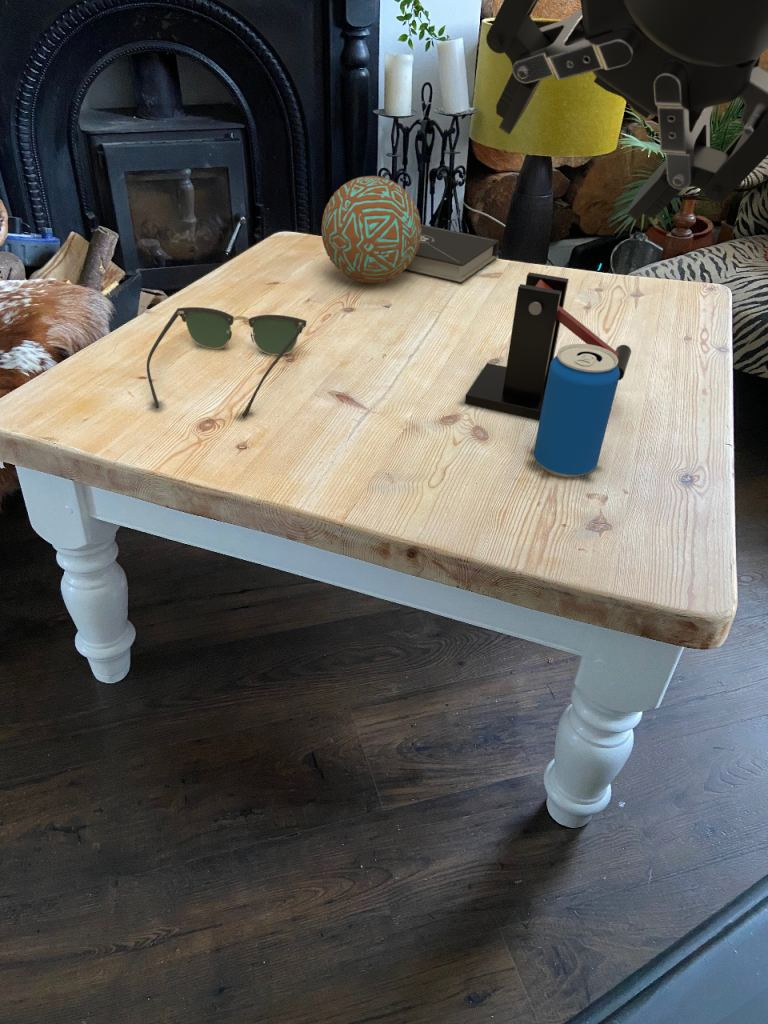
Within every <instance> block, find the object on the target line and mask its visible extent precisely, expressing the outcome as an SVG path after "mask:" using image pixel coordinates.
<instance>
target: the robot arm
mask: <svg viewBox="0 0 768 1024" xmlns="http://www.w3.org/2000/svg"><path fill="white" fill-rule="evenodd" d="M579 1H580V8H578V9H577V10H576V11H574V12H573V13H572V14H571V15H570V16H568V17H567V18H565V19H562V20H559V21H556V22H552V23H550V24H547V25H545V26H542V27H541V26H540V28H539V27H538V25H537V24H536V23H535V21H534V20H533V19H532V18H531V15H532V13H533V11H534V9H535V8H536V6H537V5H538V2H539V0H503V1H502V4H501V6H500V7H499V9H498V11H497V14H496V16H495V17H494V19H493V21H492V23H491V25H490V28H489V30H488V32H487V34H486V36H485V37H486V44H487V46H488V47H489V49H490V50H491V51H492V52H493V53H496V54H499V55H501V54H505V55H506V57H507V58H508V59H509V61H510V63H511V67H512V69H511V74H510V76H509V78H508V80H507V82H506V84H505V86H504V89H503V90H502V93H501V95H500V97H499V98H498V101H497V102H496V106H495V114H496V115H497V116H499V117H500V118H502V120H501V122H500V124H499V126H498V129H500V130H501V131H503V132H504V133H506V134H507V135H511V133H512V132H513V130H514V129H515V128H516V125H518V122H519V121H520V119H521V118H522V117H523V115H524V113H525V111H526V109H527V108H528V106H529V104H530V102H531V101H532V98H533V97H534V95H535V93H536V91H537V90H538V87H539V86H540V84H541V82H542V80H544V79H545V80H546V79H548V78H552V77H555V79H556V81H562V80H566V79H570V78H573V77H576V76H581V75H585V74H587V73H592V74H593V75H594V76H595V78H594V80H593V83H594V84H596V85H597V86H599V87H600V88H602V89H604V90H605V91H606V92H608V93H611V94H614V95H616V96H618V97H621V98H623V99H624V101H625V102H626V103H627V104H628V105H629V106H630V107H631V108H632V110H633V111H635V112H636V113H638V114H639V115H641V116H642V117H644V119H648V118H649V116H654V117H657V118H658V133H659V146H660V148H659V149H660V153H662V154H664V155H665V160H664V161H663V163H661V164H660V165H659V166H658V168H657V169H656V170H655V172H653V173H652V175H651V176H650V177H648V179H647V180H646V181H645V182H644V183H643V185H641V187H640V189H639V190H638V191H637V193H636V195H635V196H634V198H633V200H632V202H631V204H630V205H629V207H628V208H627V210H626V212H625V215H627V216H628V217H629V218H631V219H633V220H634V221H638V220H639V219H640V218H641V217H642V216H643V215H644V216H646V217H647V218H648V219H650V218H653V217H656V216H658V215H660V213H661V212H662V211H663V210H664V209H665V208H666V207H667V206H668V205H669V204H670V203H671V202H672V201H673V200H674V199H675V198H676V197H677V196H678V195H679V194H680V193H681V192H682V191H683V190H685V189H688V188H697V189H700V190H703V195H704V197H705V198H706V199H707V200H709V201H711V202H714V203H721V202H723V201H725V200H726V199H727V198H728V197H729V196H730V195H731V194H732V193H734V191H735V190H736V189H737V188H738V187H739V186H740V185H741V184H742V183H743V182H744V180H746V179H747V178H748V177H749V175H751V173H753V171H754V170H756V168H757V167H758V166H759V165H761V163H762V162H763V161H764V160H765V159H766V158H767V157H768V71H766V70H765V69H763V68H761V67H760V61H761V56H762V55H763V54H764V53H765V51H767V50H768V0H579ZM738 98H739V99H741V101H742V102H743V104H744V110H743V112H742V114H741V116H740V124H741V126H742V127H743V129H742V130H741V132H740V133H739V134H738V135H737V136H736V137H735V139H733V141H732V142H731V143H730V144H729V145H728V147H727V148H726V149H725V150H724V151H722V150H719V149H716V148H713V147H711V115H712V112H713V109H714V107H715V106H720V105H724V104H729V103H731V102H733V101H735V100H737V99H738Z"/></svg>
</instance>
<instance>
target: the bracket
mask: <svg viewBox="0 0 768 1024" xmlns="http://www.w3.org/2000/svg"><path fill="white" fill-rule="evenodd" d="M540 279H541V280H542V281H543V282H544V283H546V284H547V285H548V286H549V287H550V288H552V289H553V290H552V289H547V288H541V287H535V285H536V284H537V283H538V281H539V280H540ZM569 280H570V279H569V278H566V277H561V276H554V275H548V274H543V273H538V272H537V273H536V272H532V271H531V272H530V271H529V272H528V273H527V275H526V279H525V284H524V283H520V284H519V285H518V287H517V293H516V301H515V307H514V313H513V320H512V328H511V334H510V341H509V348H508V353H507V354H508V355H507V361H506V366H505V365H499V364H494V363H489V362H486V364H485V365H484V366H483V368H482V370H481V371H480V373H479V374H478V376H476V379H475V380H474V382H473V383H472V385H471V386H470V388H469V389H468V390H467V392H466V394H465V398H464V399H465V400H464V404H465V405H469V406H473V407H479V408H483V409H487V410H491V411H496V412H500V413H505V414H509V415H515V416H519V417H523V418H526V419H527V418H528V419H533V420H536V421H540V416H541V411H542V405H543V400H544V395H545V389H546V384H547V379H548V374H549V368H550V364H551V361H552V360H553V359H554V358H555V356H556V355H555V354H556V350H557V345H558V338H559V334H560V333H559V332H560V329H561V323H560V322H559V321H558V320H557V314H558V309H559V306H560V307H562V308H563V309H564V306H565V301H566V296H567V291H568V286H569Z"/></svg>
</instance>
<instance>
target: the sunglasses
mask: <svg viewBox="0 0 768 1024" xmlns="http://www.w3.org/2000/svg"><path fill="white" fill-rule="evenodd" d="M178 317H180V318H181V320H182V322H184V323H185V325H186V328H187V331H188V334H189V336H190V338H191V339H192V340H193V342H195V343H196V344H197V345H199V346H201V347H203V348H207V349H212V350H214V349H215V350H217V349H219V350H220V349H223V348H224V347H225V346H227V344H228V343H229V341H230V340H231V339H232V336H233V332H232V328H231V327H232V326H233V324H234V322H235V321H237V320H239V321H241V320H242V321H245V322H247V323H248V324H249V327H250V328H251V329H252V332H250V338H251V341H252V343H253V344H254V343H255V345H256V346H257V348H258V349H259V350H260V351H261V352H263V353H265V354H268V355H273V356H277V357H276V358H275V359H274V360H273V362H272V363H271V364H270V366H269V367H268V368H267V370H266V371H265V372H264V374H263V376H262V378H261V379H260V381H259V383H258V385H257V387H256V388H255V391H254V392H253V394H252V396H251V397H250V399H249V402H248V403H247V405H246V407H245V408H244V410H243V412H242V414H241V417H245V416H246V415H248V414H249V412H250V411H251V408H252V405H253V403H254V400H255V398H256V397H257V394H258V392H259V390H260V389H261V386H262V384H263V383H264V381H265V379H266V378H267V376H268V375H269V374H270V373H271V371H272V369H273V368H274V367H275V366H276V364H277V363H278V362H279V361H280V359H281V358H282V357H283V356H284V355H287V354H289V353H291V352H292V351H293V350H294V349H295V347H296V344H297V342H298V340H299V339H298V337H299V336H300V334H301V333H303V330H304V329H305V328H306V326H307V320H306V319H302V318H299V317H294V316H290V315H289V316H288V315H284V314H283V315H281V314H261V315H256V316H252V317H250V318H248V317H247V316H243V315H238V316H237V315H236V316H234V315H232V314H230V313H227V312H226V311H222V310H220V309H214V308H210V307H209V308H208V307H198V306H191V307H190V306H188V307H187V306H186V307H178V308H176V310H175V311H174V313H173V314H172V316H171V317H170V318H169V320H168V321H167V323H166V325H165V326H164V328H163V329H162V331H161V332H160V333H159V336H158V337H157V339H156V340H155V342H154V344H153V346H152V347H151V349H150V351H149V354H148V357H147V359H146V375H147V380H148V383H149V387H150V390H151V391H150V392H151V395H152V398H153V402H154V405H155V407H156V408H159V406H160V404H159V403H160V402H159V401H158V397H157V394H156V391H155V387H154V383H153V380H152V376H151V370H150V364H151V360H152V357H153V355H154V353H155V352H156V349H157V348H158V346H159V344H160V343H161V341H162V340H163V339H164V337H165V335H166V334H167V333H168V331H169V330H170V328H171V327H172V325H173V324H174V323H175V322H176V320H177V319H178Z"/></svg>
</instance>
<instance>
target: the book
mask: <svg viewBox="0 0 768 1024" xmlns="http://www.w3.org/2000/svg"><path fill="white" fill-rule="evenodd" d="M499 247H500V240H499V239H495V238H489V237H485V236H481V235H477V234H470V233H465V232H461V231H455V230H450V229H448V228H447V229H445V228H441V227H437V226H432V225H427V224H422V223H421V238H420V244H419V247H418V250H417V253H416V255H415V257H414V258H413V260H412V261H411V263H410V264H409V265H408V267H407V268H406V269H405V270H404V271H405V272H410V273H414V274H418V275H422V276H425V277H426V276H427V277H431V278H435V279H440V280H444V281H448V282H452V283H455V284H456V283H457V284H462V283H464V282H465V281H467V280H468V279H470V278H471V277H473V276H474V275H475V274H476V273H478V272H479V271H482V269H484V268H485V267H486V266H488V265H489V264H491V263H492V262H493V261H495V260H496V259H497V258H498V254H499V249H500V248H499Z"/></svg>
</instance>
